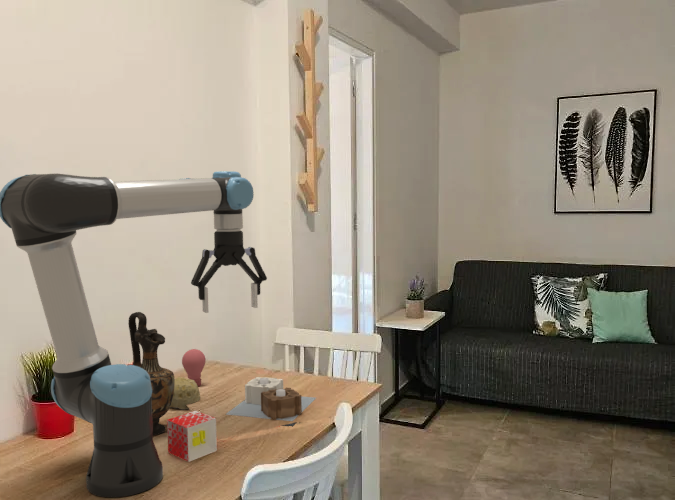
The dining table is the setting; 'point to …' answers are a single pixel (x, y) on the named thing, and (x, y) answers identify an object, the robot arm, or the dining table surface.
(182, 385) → the decorative item
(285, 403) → the walnut gear
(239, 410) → the gear board
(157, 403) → the vase
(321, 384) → the dining table surface
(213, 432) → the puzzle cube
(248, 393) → the gear
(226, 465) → the dining table surface
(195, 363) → the light bulb
